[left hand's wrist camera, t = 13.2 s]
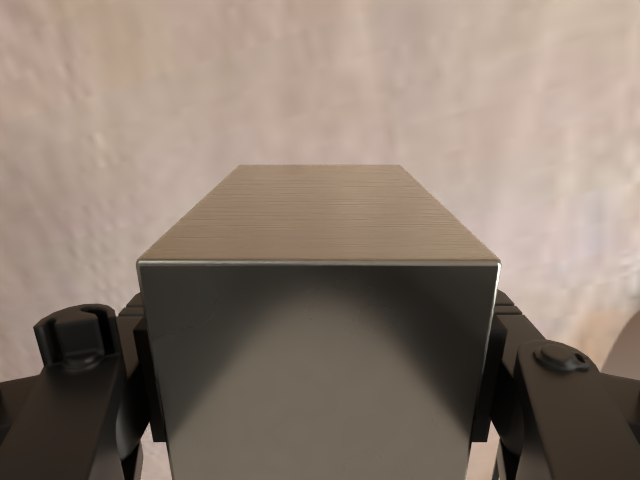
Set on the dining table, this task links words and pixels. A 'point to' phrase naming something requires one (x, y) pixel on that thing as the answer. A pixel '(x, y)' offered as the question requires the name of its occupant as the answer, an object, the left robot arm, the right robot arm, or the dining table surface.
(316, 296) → the bar
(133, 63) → the dining table surface
